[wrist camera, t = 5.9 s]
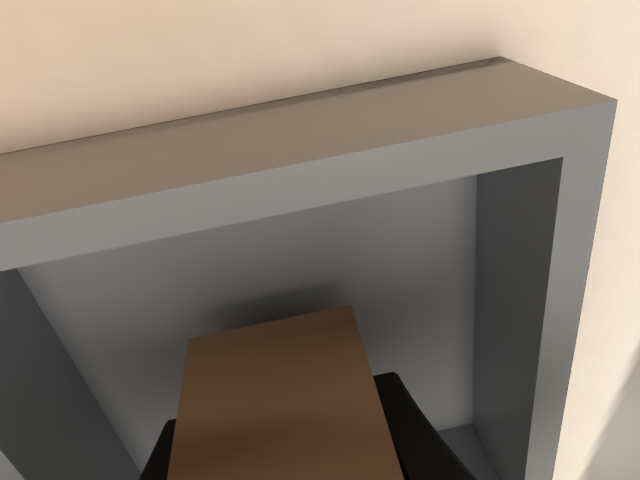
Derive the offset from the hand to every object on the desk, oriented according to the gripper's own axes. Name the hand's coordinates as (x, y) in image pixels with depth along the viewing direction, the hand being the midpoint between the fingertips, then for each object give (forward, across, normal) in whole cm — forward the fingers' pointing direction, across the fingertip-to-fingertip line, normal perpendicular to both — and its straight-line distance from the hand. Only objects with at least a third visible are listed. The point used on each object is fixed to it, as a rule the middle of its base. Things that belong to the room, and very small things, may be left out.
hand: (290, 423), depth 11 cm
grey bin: (+3, 0, 0) cm, 3 cm away
